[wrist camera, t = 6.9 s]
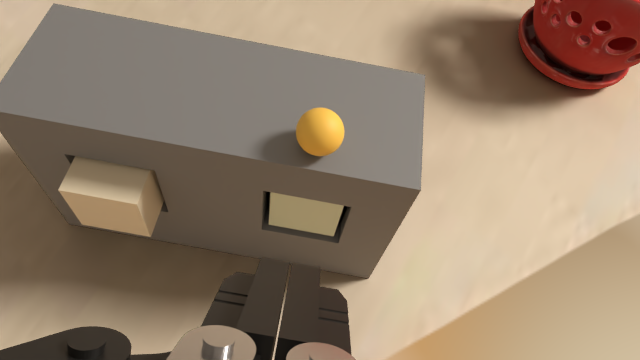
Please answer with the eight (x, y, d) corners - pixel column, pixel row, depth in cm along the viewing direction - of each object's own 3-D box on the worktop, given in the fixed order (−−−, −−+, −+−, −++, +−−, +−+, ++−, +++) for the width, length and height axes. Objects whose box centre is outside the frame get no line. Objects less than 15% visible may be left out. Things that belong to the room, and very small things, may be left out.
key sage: (333, 236, 31) (344, 205, 27) (268, 224, 31) (270, 191, 27) (341, 183, 33) (351, 148, 29) (280, 172, 33) (283, 135, 29)
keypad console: (368, 278, 35) (436, 164, 22) (69, 224, 35) (-43, 74, 22) (377, 186, 39) (438, 44, 26) (110, 136, 39) (37, -34, 26)
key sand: (150, 237, 29) (136, 204, 26) (82, 224, 29) (58, 189, 26) (171, 181, 31) (160, 144, 28) (106, 169, 31) (87, 131, 28)
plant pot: (490, 66, 48) (553, -42, 38) (528, -2, 55) (591, -109, 45) (615, 127, 46) (718, 30, 36) (639, 49, 53) (732, -53, 42)
